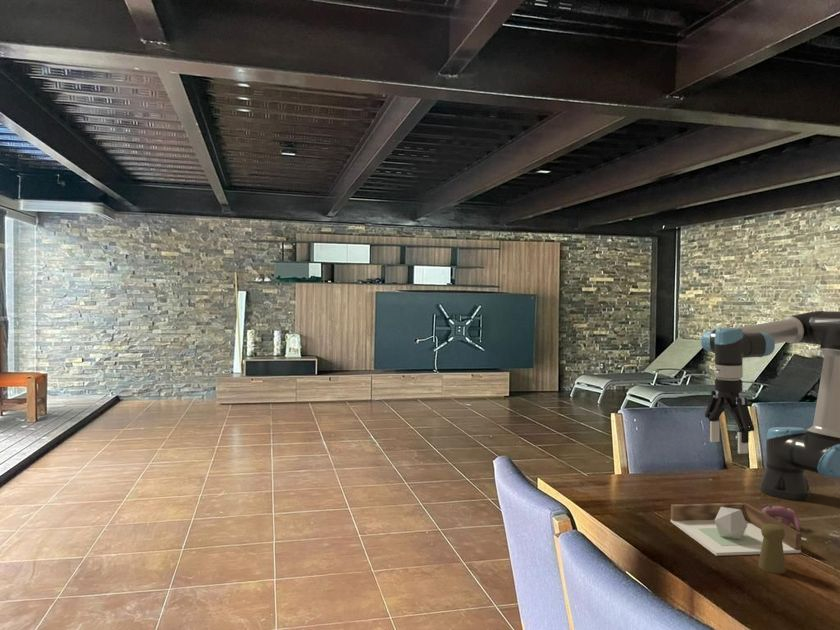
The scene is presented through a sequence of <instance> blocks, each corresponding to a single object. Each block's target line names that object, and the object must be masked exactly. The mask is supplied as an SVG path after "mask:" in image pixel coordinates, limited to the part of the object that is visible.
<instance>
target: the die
mask: <svg viewBox="0 0 840 630" xmlns="http://www.w3.org/2000/svg"><path fill="white" fill-rule="evenodd" d="M715 524H716V527H717V529H718V532H719V535H720V537H725V538H731V539H737V540H741V538H742V536H743V534H744V532H745V530H746V528H747V523H746V521H745V518H744V516H743V513H742V511H741V510H739V509H733V508H726V507H721V508H720V510H719V512H718V514H717V516H716V518H715Z"/></svg>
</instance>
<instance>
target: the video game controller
mask: <svg viewBox="0 0 840 630" xmlns="http://www.w3.org/2000/svg"><path fill="white" fill-rule="evenodd" d="M761 511H762V512H763V513H765V514H767V515H769V516H771V517H772V518H774V519H776V520H778V518H777V517H780V518H782V519H781V521H780V522H782V523H783V524H785V525H787V526H789V527H790V525H791V523H792V525H793V526H794V530H796V531H798V532H800V531H801V524H800V519H799V516H798V514H797V513H796V511H795V510H793V509H792V508H788V507H785V506H782V505H781V506H780V505H770V506H766V507H764V508H762V509H761Z"/></svg>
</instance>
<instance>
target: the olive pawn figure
mask: <svg viewBox="0 0 840 630" xmlns="http://www.w3.org/2000/svg"><path fill="white" fill-rule="evenodd" d="M761 533H762V535H763V542H762V548H761V553H760V554H759V558H758V559H759V560H758V565H757V566H758V568H759V569H761V570H762V571H765V572H767V573H771V574H785V573H786V562H785V553H784V552H783V544H782V540H783V539H784V537H785V532H784V529H783V528H782V527H780V526H778V525H775V524H764V525H763V526H762V528H761Z"/></svg>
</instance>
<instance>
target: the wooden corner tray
mask: <svg viewBox="0 0 840 630" xmlns="http://www.w3.org/2000/svg"><path fill="white" fill-rule="evenodd" d="M721 507H726V508H733V509H739V510H741V511H742V513H743V516H744V518H745V521H746V523H747V528H746V530H745V532H744V534H743V536H742V538H741V540H737V539H731V538H725V537H720V535H719V532H718V529H717V527H716V524H715V518H716V516H717V514H718V512H719V510H720V508H721ZM670 523H672V524H673V525H674V526H676V527H677V528H678V529H679V530H681V531H683V532H684V533H685V534H686V535H687V536H689V537H690V538H692V539H693V540H695V541H696V542H697V543H699V544H700V545H701V546H703V547H704V548H705V549H707V550H708V551H709V552H710V553H712V554H714V556H716V557H717V556H743V555H745V556H747V555H748V556H750V555H752V556H753V555H760V553H761V548H762V542H763V535H762V533H761V528H762V526H763V525H764V524H775V525H778V526H780V527H782V528H783V529H784V532H785V537H784V539H783V540H782V544H783V552H784V554H799V553H802V533H801V532H800V531H797V530H796V529H795V528H792V527H791V526H790V525H789V526H787V525H785V524H783V523H782V522H781V521H780V520H779V519H777V520H776V519H774V518H772V517H771V516H769V515H767V514H765V513H763V512H762V510H760V509H757V508H756V507H754V506H752V505H751V504H750V503H749V504H748V503H747V502H721V503H719V502H717V503H714V502H713V503H712V502H711V503H682V504H680V503H679V504H677V503H676V504H675V503H674V504H670Z"/></svg>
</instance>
